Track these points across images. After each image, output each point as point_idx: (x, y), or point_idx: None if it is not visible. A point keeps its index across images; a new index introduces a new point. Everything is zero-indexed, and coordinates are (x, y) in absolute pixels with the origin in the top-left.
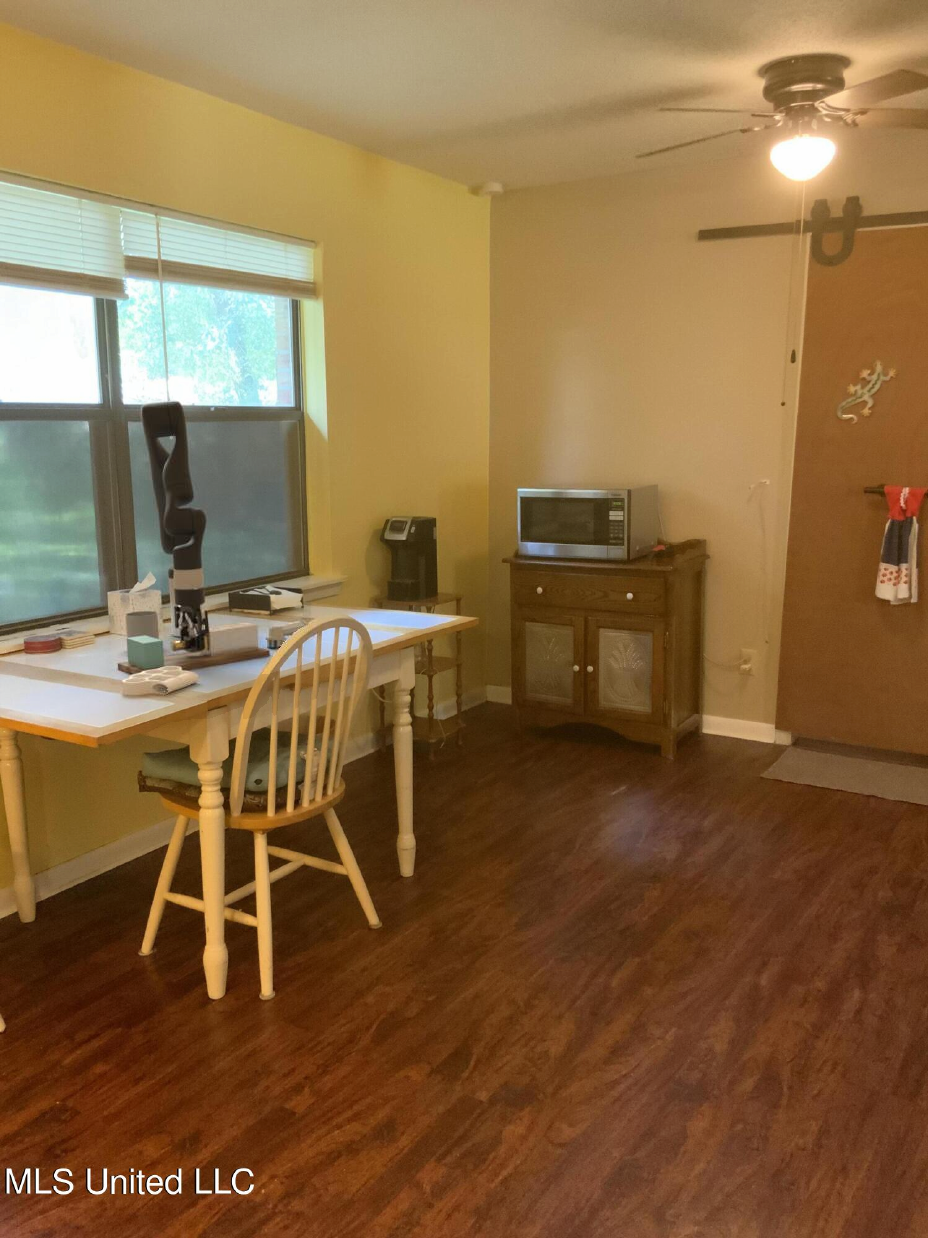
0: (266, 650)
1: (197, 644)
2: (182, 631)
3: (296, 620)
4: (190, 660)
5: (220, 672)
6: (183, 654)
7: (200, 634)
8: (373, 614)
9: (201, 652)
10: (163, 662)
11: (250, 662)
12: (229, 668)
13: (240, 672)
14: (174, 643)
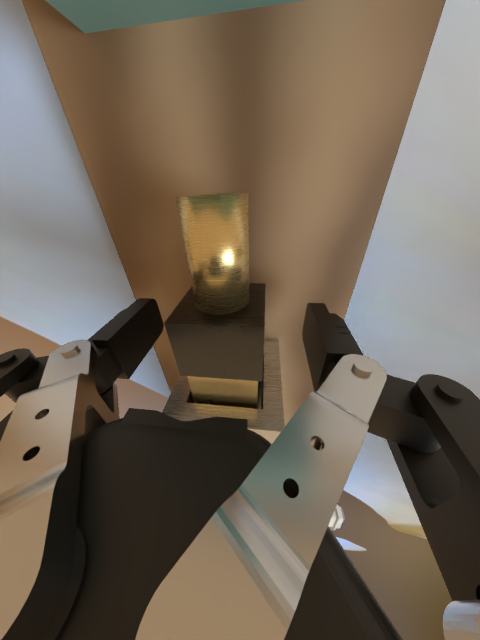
0: None
1: (124, 313)
2: (331, 365)
3: (332, 529)
4: (171, 251)
5: (38, 272)
6: (312, 288)
7: (13, 352)
8: (340, 543)
9: (270, 341)
10: (61, 7)
11: (143, 374)
12: (90, 315)
13: (27, 310)
14: (180, 200)
